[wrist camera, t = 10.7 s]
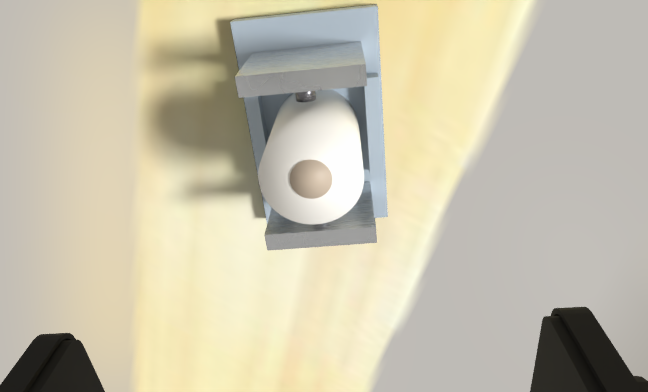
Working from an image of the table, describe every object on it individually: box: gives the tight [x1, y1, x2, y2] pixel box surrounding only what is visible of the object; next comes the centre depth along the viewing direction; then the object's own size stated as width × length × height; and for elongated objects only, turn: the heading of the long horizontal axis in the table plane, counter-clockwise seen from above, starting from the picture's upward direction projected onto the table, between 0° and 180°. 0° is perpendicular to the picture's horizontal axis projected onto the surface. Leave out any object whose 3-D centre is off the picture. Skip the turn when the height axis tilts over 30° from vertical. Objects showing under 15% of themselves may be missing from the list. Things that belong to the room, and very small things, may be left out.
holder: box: [230, 4, 388, 224], centre depth 29 cm, size 13×8×2 cm, turn 6°
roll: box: [258, 89, 364, 224], centre depth 26 cm, size 5×5×7 cm
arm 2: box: [265, 181, 377, 250], centre depth 28 cm, size 2×6×6 cm, turn 96°
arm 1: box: [235, 41, 367, 102], centre depth 25 cm, size 2×6×6 cm, turn 96°
